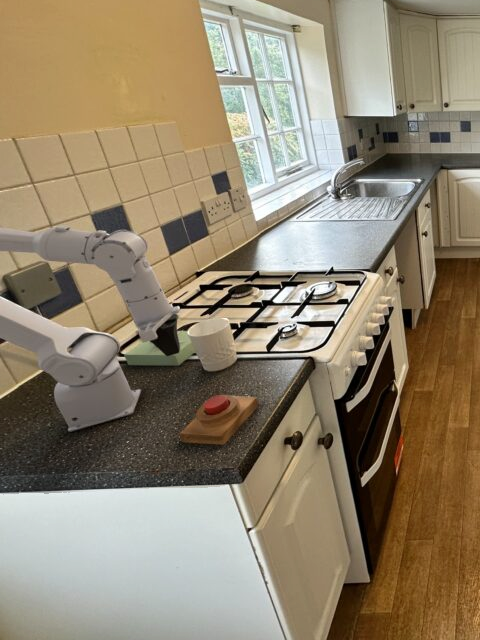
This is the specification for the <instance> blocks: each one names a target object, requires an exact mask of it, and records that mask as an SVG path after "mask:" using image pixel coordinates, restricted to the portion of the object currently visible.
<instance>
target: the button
mask: <svg viewBox="0 0 480 640" xmlns="http://www.w3.org/2000/svg"><path fill="white" fill-rule="evenodd" d="M225 395H226V394H219V395H215V396H212V397H210V398H208V399H207V400H206V401H205V402H204V403H205V404H204V403H203V404H204V408H205V410H206V413H207V414H208V415H215V414H218V413H220V412H222V411H224V410H226V409H227V408H228V407H229V403H228V400H227V397H226V396H225Z"/></svg>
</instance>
